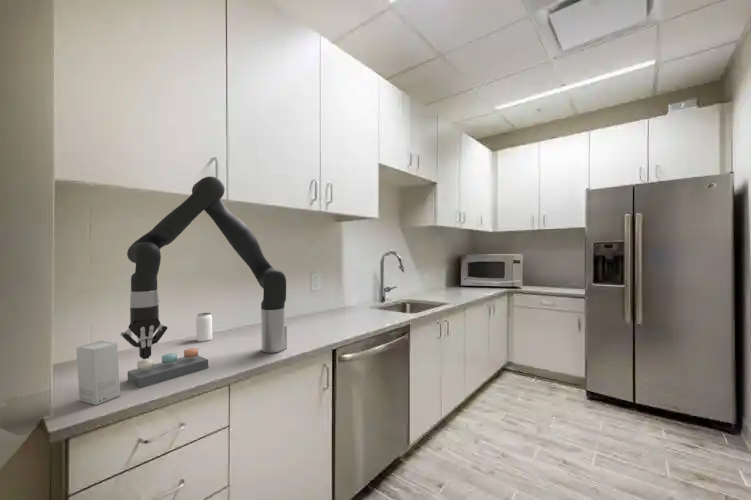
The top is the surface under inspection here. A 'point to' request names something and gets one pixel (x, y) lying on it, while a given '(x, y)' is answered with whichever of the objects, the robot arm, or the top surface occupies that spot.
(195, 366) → the console
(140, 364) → the cream button
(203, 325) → the can
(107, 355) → the skincare box
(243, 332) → the top surface
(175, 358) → the teal button
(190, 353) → the terracotta button
